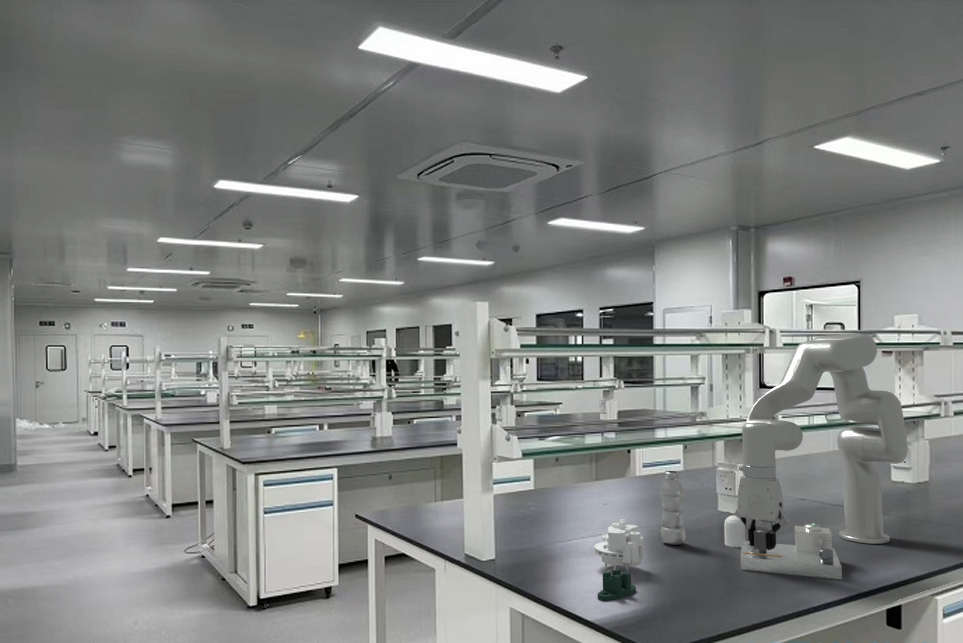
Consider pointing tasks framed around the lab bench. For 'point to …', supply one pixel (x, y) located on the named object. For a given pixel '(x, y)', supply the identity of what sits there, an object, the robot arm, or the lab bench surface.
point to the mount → (616, 586)
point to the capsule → (734, 531)
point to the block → (760, 539)
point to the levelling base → (797, 555)
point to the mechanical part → (621, 546)
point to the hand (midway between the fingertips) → (762, 546)
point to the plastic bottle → (672, 509)
